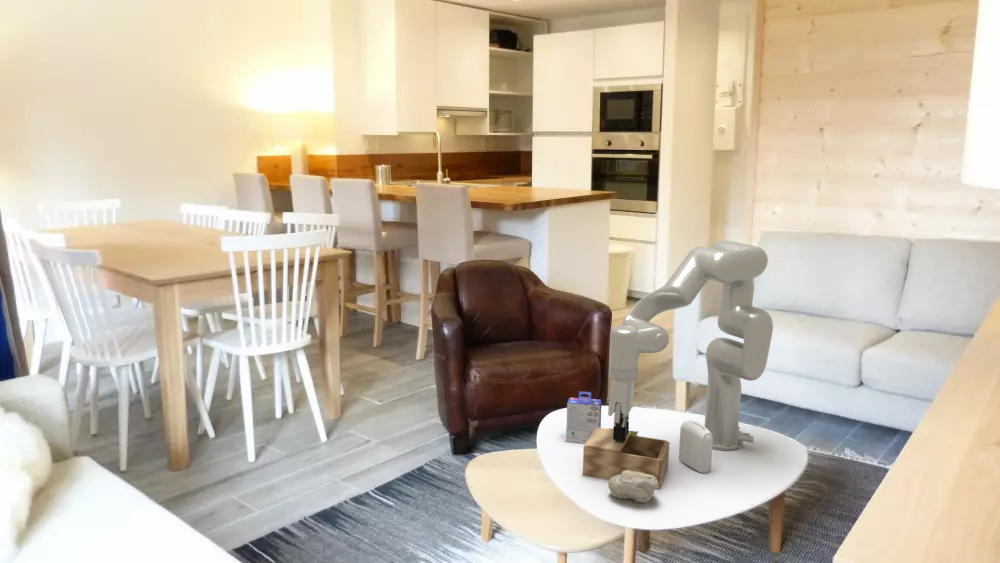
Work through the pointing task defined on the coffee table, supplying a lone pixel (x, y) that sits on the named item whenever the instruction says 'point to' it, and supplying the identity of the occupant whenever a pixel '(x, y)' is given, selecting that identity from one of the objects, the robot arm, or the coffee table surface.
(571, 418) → the ink cartridge box
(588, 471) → the open wooden box
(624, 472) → the fossil replica
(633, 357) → the robot arm
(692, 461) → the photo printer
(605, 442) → the flap
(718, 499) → the coffee table surface
